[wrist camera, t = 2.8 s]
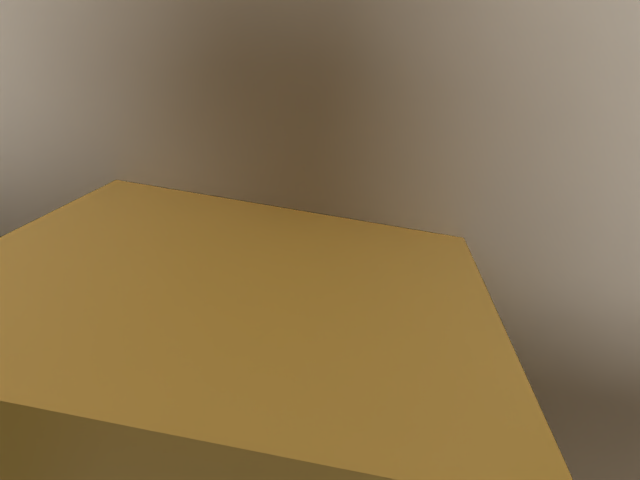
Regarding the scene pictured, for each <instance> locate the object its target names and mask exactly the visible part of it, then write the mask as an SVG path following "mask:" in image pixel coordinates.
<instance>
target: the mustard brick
mask: <svg viewBox="0 0 640 480" xmlns="http://www.w3.org/2000/svg"><path fill="white" fill-rule="evenodd" d="M0 480H573V479H572V477H571V474H570V472H569V470H568V468H567V465H566V463H565V461H564V459H563V457H562V454H561V452H560V450H559V448H558V446H557V443H556V441H555V439H554V437H553V434H552V432H551V430H550V428H549V426H548V423H547V421H546V419H545V417H544V415H543V412H542V410H541V408H540V406H539V403H538V401H537V399H536V397H535V395H534V392H533V390H532V388H531V386H530V384H529V381H528V379H527V377H526V375H525V372H524V370H523V368H522V366H521V364H520V361H519V359H518V357H517V355H516V353H515V350H514V348H513V346H512V344H511V341H510V339H509V337H508V335H507V333H506V330H505V328H504V326H503V324H502V322H501V319H500V317H499V315H498V313H497V310H496V308H495V306H494V304H493V302H492V299H491V297H490V295H489V293H488V291H487V288H486V286H485V284H484V282H483V279H482V277H481V275H480V273H479V271H478V268H477V266H476V264H475V262H474V260H473V257H472V255H471V253H470V251H469V248H468V246H467V244H466V242H465V240H464V238H461V237H455V236H449V235H444V234H438V233H432V232H426V231H420V230H414V229H408V228H402V227H396V226H390V225H384V224H378V223H372V222H366V221H360V220H354V219H348V218H342V217H336V216H330V215H324V214H318V213H312V212H306V211H300V210H294V209H288V208H282V207H276V206H270V205H264V204H258V203H252V202H246V201H240V200H234V199H228V198H222V197H216V196H210V195H204V194H198V193H192V192H186V191H180V190H174V189H168V188H162V187H156V186H150V185H144V184H138V183H133V182H127V181H121V180H115V181H113V182H111V183H109V184H107V185H105V186H103V187H101V188H99V189H97V190H94V191H92V192H90V193H88V194H86V195H84V196H82V197H80V198H78V199H76V200H74V201H72V202H70V203H68V204H66V205H64V206H62V207H60V208H58V209H56V210H54V211H52V212H50V213H48V214H46V215H44V216H42V217H40V218H38V219H36V220H34V221H32V222H30V223H28V224H26V225H24V226H22V227H20V228H18V229H16V230H14V231H12V232H10V233H8V234H6V235H4V236H2V237H0Z"/></svg>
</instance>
